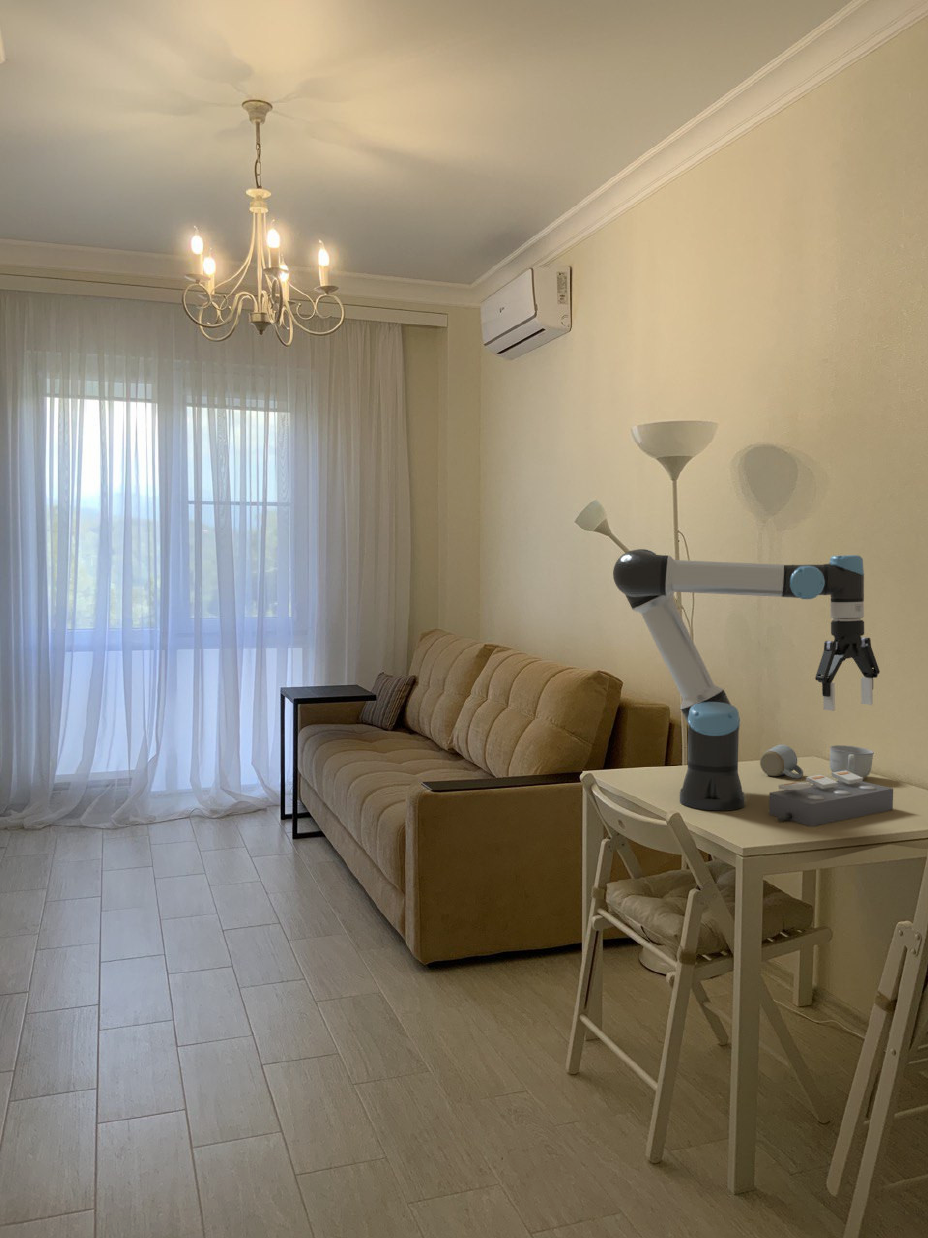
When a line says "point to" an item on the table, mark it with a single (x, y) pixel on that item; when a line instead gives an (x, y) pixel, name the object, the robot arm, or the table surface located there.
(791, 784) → the rocker
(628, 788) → the table surface
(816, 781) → the rocker
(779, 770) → the ceramic mug
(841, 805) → the power strip
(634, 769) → the table surface
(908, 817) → the table surface
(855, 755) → the teacup
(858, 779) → the rocker
